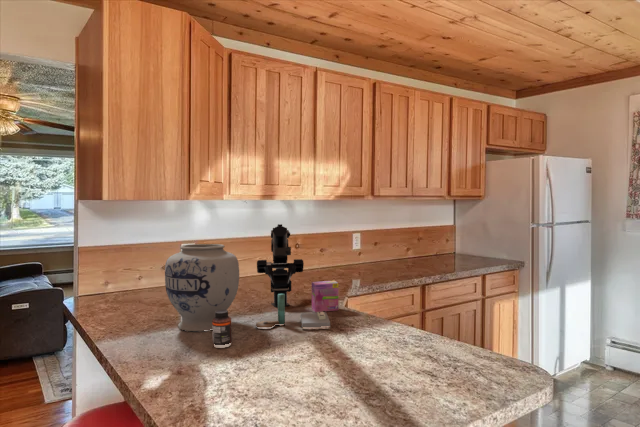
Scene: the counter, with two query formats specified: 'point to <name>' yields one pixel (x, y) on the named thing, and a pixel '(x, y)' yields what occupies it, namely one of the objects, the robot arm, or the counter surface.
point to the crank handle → (280, 314)
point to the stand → (314, 319)
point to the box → (325, 296)
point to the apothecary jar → (201, 283)
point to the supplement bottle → (222, 328)
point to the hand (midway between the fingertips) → (280, 283)
